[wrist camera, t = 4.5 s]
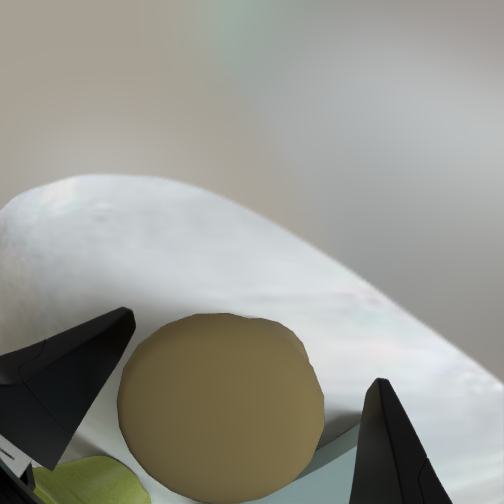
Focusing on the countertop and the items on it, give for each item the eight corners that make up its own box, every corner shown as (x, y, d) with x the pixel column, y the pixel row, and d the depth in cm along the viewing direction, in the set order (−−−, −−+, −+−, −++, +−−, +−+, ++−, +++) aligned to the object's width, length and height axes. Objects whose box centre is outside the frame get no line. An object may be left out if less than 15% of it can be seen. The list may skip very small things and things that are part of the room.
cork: (318, 406, 14) (368, 516, 3) (216, 423, 14) (120, 523, 4) (297, 307, 16) (321, 254, 5) (196, 328, 16) (63, 308, 6)
